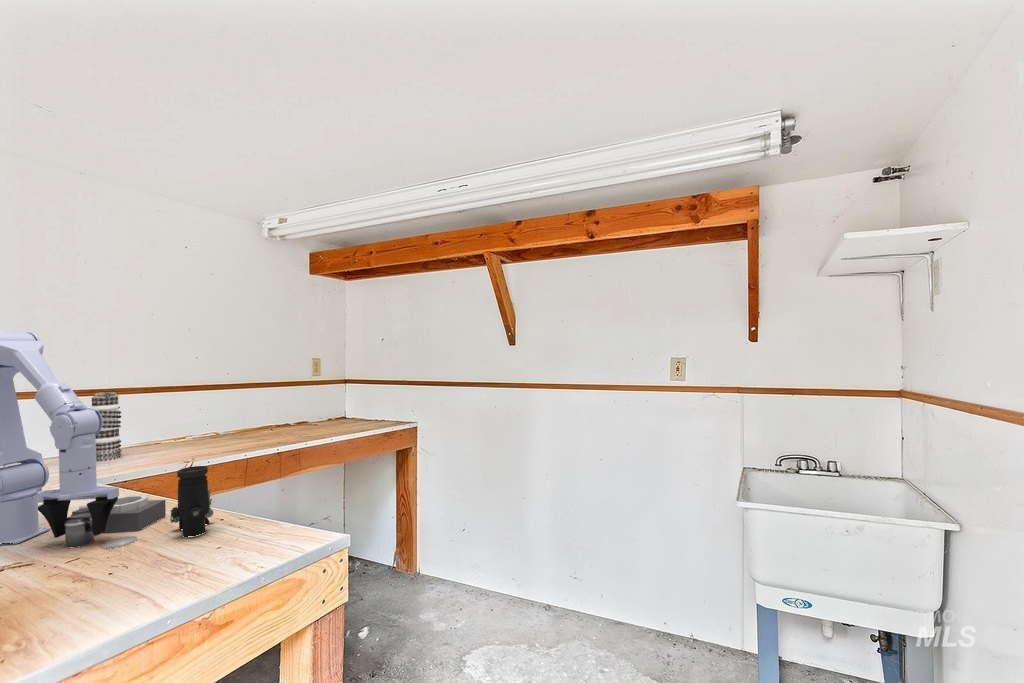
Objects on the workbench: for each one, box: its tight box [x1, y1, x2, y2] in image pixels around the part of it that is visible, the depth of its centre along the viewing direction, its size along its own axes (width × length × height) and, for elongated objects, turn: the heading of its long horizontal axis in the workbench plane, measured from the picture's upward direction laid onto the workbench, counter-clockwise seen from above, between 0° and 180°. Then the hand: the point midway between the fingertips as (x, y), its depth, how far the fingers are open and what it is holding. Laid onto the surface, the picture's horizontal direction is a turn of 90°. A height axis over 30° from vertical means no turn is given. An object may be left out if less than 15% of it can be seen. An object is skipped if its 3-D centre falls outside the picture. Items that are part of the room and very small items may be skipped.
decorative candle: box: [90, 391, 122, 465], centre depth 178 cm, size 9×9×25 cm
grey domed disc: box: [105, 535, 138, 549], centre depth 100 cm, size 5×5×1 cm
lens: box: [64, 513, 95, 548], centre depth 101 cm, size 4×4×6 cm
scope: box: [169, 465, 214, 538], centre depth 105 cm, size 8×14×10 cm
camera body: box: [71, 494, 167, 534], centre depth 111 cm, size 14×9×6 cm, turn 94°
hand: (79, 534), depth 101 cm, fingers open, 7 cm apart
